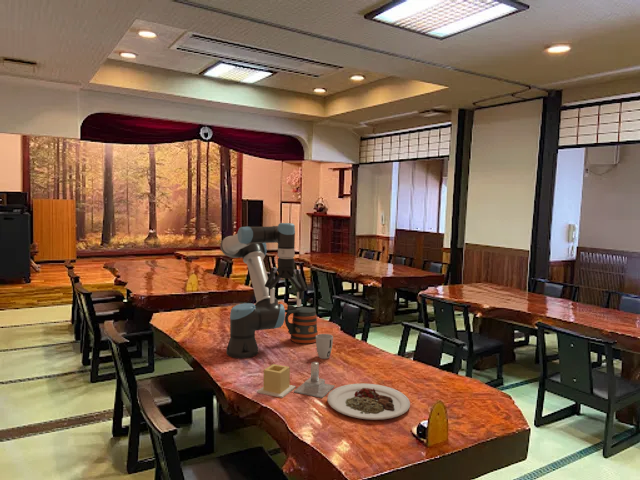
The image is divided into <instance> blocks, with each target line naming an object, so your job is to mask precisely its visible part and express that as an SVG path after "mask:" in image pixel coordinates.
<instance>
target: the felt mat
mask: <svg viewBox="0 0 640 480" xmlns="http://www.w3.org/2000/svg"><path fill="white" fill-rule="evenodd" d="M263 387H264V386H262V387H261V388H259V389H258V390H256V392H257V393H258V394H261V395H266V396H271V397H277V398H281V399H282V398H284V397H285V396H286V395H288V394H290V392H292V391H294V390H295V389H297V387H296V385H292V384H290V385H289V388H287V389H286V390H285V391H283V392H282V393H281V394H279V393H274V392H270V391H265V390H263Z"/></svg>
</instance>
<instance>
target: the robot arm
mask: <svg viewBox="0 0 640 480" xmlns="http://www.w3.org/2000/svg"><path fill="white" fill-rule="evenodd" d="M295 227H296V225H295V224H294V223H293V222H292V223H290V222H280V223H279V224H278V225H272V226H248V225H247V226H241V227H239V228H238V231H237V233H236V234H233V235H229V236H226V237H224V238H223V239H222V241H221V242H220V250H221V252H222V253H223V254H224V255H225V256H227V257H229V258H233V259H242V262H243V263H244V264H246V265H247V269H248V273H249V277H250V280H251V284H252V288H253V292H254V297H255V300H256V302H255V304H254V303H251V302H250V303H249V302H247V303H245V302H244V303H239V304H236V305H234V306H233V307H232V308H230V314H229V320H230V321H229V322H230V323H229V325H230V327H229V329H230V330H229V333H230V334H229V335H230V338H229V340H228V344H227V347H226V350H225V351H226V353H225V354H226V356H228V357H230V358H234V359H247V358H248V359H249V358H253V357H256V356H257V355H258V354H259V346H258V343H257V340H256V331H263V330H275V329H278V328H281V327H282V326H283V325H284V324H285V316H286V312H285V310H286V309H285V306H284V304H283V303H279V302H278V299H277V298H276V296H275V295H276V294H275V293H276V291H275V290H276V289H275V288H274V287H275V286H276V285H277V283H278V282H279V281H280V280H281V279H286V280H289V281H291V282H292V284H293V286H294V287H295V288H296V289H297V292H296V308H299V307H301V306H302V300H303V298H304V292H305V291H307V290H308V287H307V284H306V282H305V280H304V278H303V276H302V271H301V269H295V255H296V254H295V252H296V251H295V248H296V247H295V243H296V242H295V241H296V240H295V239H296V238H295V237H296V229H295ZM275 243H277V257H278V258H277V267H276V266H274V267H271V269H270V273H269V276H268V273H267V269H266V267H265V266H266V265H265V262H264V259H265V257H266V255H267V244H275ZM276 273H277V275H276ZM275 275H276V276H275ZM295 275H296V276H295ZM274 277H275V278H274ZM273 279H274V280H273Z"/></svg>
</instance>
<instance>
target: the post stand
mask: <svg viewBox="0 0 640 480" xmlns="http://www.w3.org/2000/svg"><path fill="white" fill-rule="evenodd" d="M319 368H320V363H319V362H318V361H312V362H311V363H310V377H309V378H308V379H306V380H305V381H304V382H303V383H302V384H301V385H299V386H297V387H296V388H295V389H293V393H295V394H300V395H306V396H309V397H315V398H319V399H323V398H324V397H326V395H328V394H329V393H330V392H331V391H332V390H334V389H335V385H334V384H329V383H326V379H324V378H319V377H320V374H319V373H320V371H319V370H320V369H319Z"/></svg>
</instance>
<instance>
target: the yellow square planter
mask: <svg viewBox="0 0 640 480" xmlns="http://www.w3.org/2000/svg"><path fill="white" fill-rule="evenodd" d="M290 372H291V370H290V366H288V365H287V366H285V365H280V364H275V363H273V364H271V365H270V366H268V367H266V368H264V369H263V386H262V387H263V390H265V391H270V392H274V393H279V394H281V393H282V392H283V391H285V390H286V389H287V388H289V385H291V384H290V383H291V382H290V380H291V379H290V374H291V373H290Z"/></svg>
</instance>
